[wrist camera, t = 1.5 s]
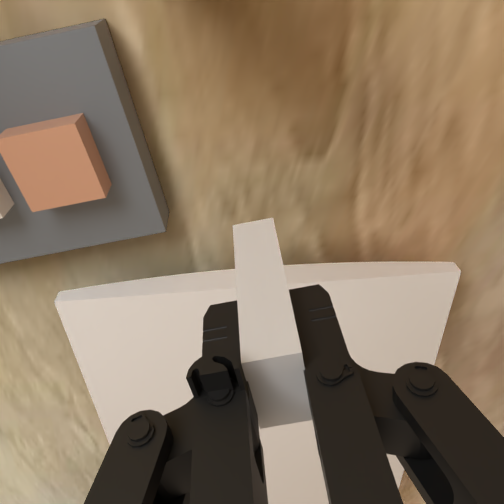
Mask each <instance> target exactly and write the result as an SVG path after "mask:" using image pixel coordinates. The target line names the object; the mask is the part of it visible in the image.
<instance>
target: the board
mask: <svg viewBox="0 0 504 504" xmlns="http://www.w3.org/2000/svg"><path fill="white" fill-rule="evenodd" d="M283 266H284V271H285V275H286V280H287V285H288V289H289V290H290V289H295V288H301V287H306V286H311V285H317V284H319V285H320V286H322V287H323V288H324V289H325V290H326V291H327V292H328V293H329V295H330V298H331V301H332V304H333V308H334V310H335V313H336V317H337V319H338V322H339V325H340V328H341V331H342V334H343V337H344V340H345V343H346V346H347V349H348V352H349V354H350V356H351V358H352V359H353V360H354V361H355V362H356V363H357V364H358V365H360V366H361V367H363V368H365V369H368V370H370V371H375V372H382V373H392V374H395V372H396V370H397V369H398V368H400V367H401V366H403V365H404V364H407V363H412V362H424V363H429V364H431V365H434V364H435V361H436V357H437V354H438V350H439V347H440V343H441V340H442V336H443V333H444V329H445V326H446V322H447V319H448V316H449V312H450V309H451V305H452V302H453V298H454V295H455V291H456V288H457V284H458V281H459V277H460V274H461V270H460V269H459V268H458V266H457V265H456V264H455V262H343V263H316V264H296V265H283ZM236 300H237V288H236V272H235V269H227V270H216V271H206V272H196V273H187V274H178V275H169V276H161V277H153V278H145V279H138V280H131V281H123V282H116V283H110V284H103V285H96V286H90V287H84V288H77V289H71V290H65V291H59V292H58V295H57V297H56V299H55V301H54V303H55V306H56V308H57V311H58V313H59V316H60V318H61V321H62V323H63V326H64V329H65V331H66V334H67V336H68V339H69V341H70V344H71V347H72V349H73V352H74V354H75V357H76V359H77V362H78V365H79V367H80V370H81V372H82V375H83V377H84V380H85V382H86V385H87V388H88V390H89V393H90V395H91V398H92V400H93V403H94V406H95V408H96V411H97V413H98V416H99V418H100V421H101V423H102V426H103V429H104V431H105V434H106V436H107V439H108V441H109V444H111V442H112V440H113V438H114V435H115V433H116V431H117V430H118V428H119V427H120V425H121V424H122V422H124V421H125V420H126V419H127V418H128V417H129V416H130V415H133V414H135V413H137V412H139V411H143V410H154V411H158V412H160V413H161V414H162V415H165V414H167V413H169V412H172V411H174V410H176V409H178V408H180V407H181V406H183V405H185V404H186V403H187V402H189V401H190V400H191V399H192V398H193V397H194V396H193V394H192V392H191V389H190V387H189V384H188V382H187V379H186V376H187V373H188V369H189V368H190V367H191V365H192V364H193V363H194V362H195V361H196V360H198V359H199V358H201V357H202V343H203V317H204V315H205V313H206V312H207V310H208V308H209V306H210V305H214V304H219V303H225V302H230V301H236ZM259 436H260V440H261V444H262V447H263V455H264V465H265V476H266V486H267V496H268V504H329V501H328V496H327V491H326V486H325V481H324V477H323V472H322V467H321V462H320V457H319V454H318V448H317V442H316V437H315V431H314V425H313V420H309V421H303V422H298V423H292V424H286V425H280V426H274V427H268V428H262V429H260V427H259ZM387 457H388V460H389V463H390V466H391V469H392V472H393V475H394V478H395V481H396V484H397V487H398V489H399V486H400V482H401V479H402V475H403V472H404V468H403V466H402V465H401V463H400V462H399V460H398V459H397V457H396V455H390V454H387Z"/></svg>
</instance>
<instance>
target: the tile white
mask: <svg viewBox="0 0 504 504" xmlns="http://www.w3.org/2000/svg"><path fill="white" fill-rule="evenodd" d="M13 205H14V202H13V200H12V198H11V197H10V195H9V193H8V191H7V189H6V188H5V186H4V184H3V182H2V181H1V179H0V219H1V218H3V217H4V216H5V215H6V214H7V212H8V211H9V210H10V209H11V207H12V206H13Z"/></svg>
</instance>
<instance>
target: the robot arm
mask: <svg viewBox="0 0 504 504" xmlns="http://www.w3.org/2000/svg"><path fill="white" fill-rule="evenodd" d="M233 239H234V255H235V272H236V288H237V300H236V301H230V302H225V303H219V304H214V305H210V306H209V308H208V310H207V312H206V313H205V315H204V317H203V343H202V357H201V358H199V359H198V360H196V361H195V362H194V363H193V364H192V365H191V367H190V368H189V369H188V373H187V376H186V379H187V382H188V384H189V387H190V389H191V392H192V394H193V396H194V397H193V398H192V399H191V400H190V401H189V402H187V403H186V404H185V405H183V406H181V407H180V408H178V409H176V410H174V411H172V412H169V413H167V414H165V415H162V414H161V413H160V412H158V411H154V410H143V411H139V412H137V413H135V414H133V415H130V416H129V417H128V418H127V419H126V420H125V421H124V422H122V424H121V425H120V427H119V428H118V430H117V431H116V433H115V435H114V438H113V440H112V442H111V444H110V447H109V449H108V451H107V453H106V455H105V458H104V460H103V462H102V464H101V467H100V469H99V471H98V473H97V475H96V478H95V480H94V482H93V484H92V487H91V489H90V491H89V493H88V495H87V498H86V500H85V502H84V504H268V496H267V486H266V476H265V465H264V455H263V447H262V444H261V440H260V436H259V427H260V429H262V428H268V427H274V426H280V425H286V424H292V423H298V422H303V421H309V420H313V425H314V431H315V437H316V442H317V448H318V454H319V457H320V462H321V467H322V472H323V477H324V481H325V486H326V491H327V496H328V501H329V504H403V502H402V499H401V496H400V493H399V490H398V487H397V484H396V481H395V478H394V475H393V472H392V469H391V466H390V463H389V460H388V457H387V454H390V455H396V457H397V459H398V460H399V462H400V463H401V465H402V466H403V468H404V470H405V471H406V473H407V474H408V476H409V477H410V479H411V480H412V482H413V484H414V485H415V487H416V488H417V490H418V491H419V493H420V494H421V496H422V498H423V499H424V501H425V502H426V504H504V437H503V436H502V435H501V434H500V433H499V432H498V430H497V429H496V428H495V427H494V426H493V425H492V424H491V423H490V422H489V421H488V419H487V418H486V417H485V416H484V415H483V414H482V413H481V412H480V411H479V409H478V408H477V407H476V406H475V405H474V404H473V403H472V402H471V401H470V399H469V398H468V397H467V396H466V395H465V394H464V393H463V392H462V391H461V390H460V388H459V387H458V386H457V385H456V384H455V383H454V382H453V381H452V380H451V378H450V377H449V376H448V375H447V374H446V373H445V372H443V371H442V370H441V369H440V368H438V367H436V366H434V365H431V364H429V363H424V362H412V363H407V364H404V365H403V366H401V367H400V368H398V369H397V370H396V372H395V374H392V373H382V372H375V371H370V370H368V369H365V368H363V367H361V366H360V365H358V364H357V363H356V362H355V361H354V360H353V359H352V358H351V356H350V354H349V352H348V349H347V346H346V343H345V340H344V337H343V334H342V331H341V328H340V325H339V322H338V319H337V317H336V313H335V310H334V308H333V304H332V301H331V298H330V295H329V293H328V292H327V291H326V290H325V289H324V288H323V287H322V286H320V285H319V284H317V285H311V286H306V287H301V288H295V289H290V290H289V289H288V285H287V280H286V275H285V271H284V266H283V261H282V257H281V252H280V248H279V243H278V238H277V234H276V229H275V224H274V220H273V218H268V219H262V220H257V221H252V222H247V223H242V224H236V225H233Z"/></svg>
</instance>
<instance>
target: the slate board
mask: <svg viewBox="0 0 504 504" xmlns="http://www.w3.org/2000/svg"><path fill="white" fill-rule="evenodd" d="M80 113H83V114H84V117H85V119H86V122H87V124H88V127H89V129H90V131H91V134H92V136H93V139H94V141H95V144H96V146H97V149H98V151H99V154H100V156H101V159H102V161H103V164H104V166H105V169H106V171H107V174H108V176H109V179H110V181H111V184H112V185H111V187H110V189H109V192H108V194H107V196H106V198H102V199H97V200H92V201H87V202H82V203H77V204H72V205H67V206H62V207H57V208H51V209H46V210H41V211H36V212H32V211H31V209H30V207H29V205H28V204H27V202H26V200H25V198H24V196H23V194H22V192H21V191H20V189H19V187H18V185H17V183H16V181H15V179H14V178H13V176H12V174H11V172H10V170H9V168H8V166H7V165H6V163H5V161H4V159H3V157H2V155H1V153H0V179H1V181H2V182H3V184H4V186H5V188H6V189H7V191H8V193H9V195H10V197H11V198H12V200H13V202H14V205H13V206H12V207H11V209H10V210H9V211H8V212H7V214H6V215H5V216H4V217H3V218H1V219H0V264H1V263H6V262H11V261H16V260H22V259H27V258H32V257H37V256H42V255H48V254H53V253H58V252H63V251H68V250H74V249H79V248H84V247H89V246H94V245H100V244H105V243H110V242H115V241H120V240H125V239H131V238H136V237H141V236H146V235H151V234H157V233H162V232H166V228H167V223H168V217H169V209H168V206H167V203H166V200H165V197H164V194H163V191H162V188H161V185H160V182H159V179H158V176H157V173H156V170H155V167H154V164H153V161H152V158H151V155H150V152H149V149H148V146H147V143H146V140H145V137H144V134H143V131H142V128H141V125H140V122H139V119H138V116H137V113H136V110H135V107H134V104H133V101H132V98H131V95H130V92H129V89H128V86H127V83H126V80H125V77H124V74H123V71H122V68H121V65H120V62H119V59H118V56H117V53H116V50H115V47H114V44H113V41H112V38H111V35H110V32H109V29H108V26H107V23H106V20H105V19H101V20H97V21H92V22H87V23H83V24H78V25H74V26H69V27H64V28H60V29H55V30H50V31H46V32H41V33H37V34H32V35H27V36H23V37H18V38H13V39H9V40H4V41H0V134H1V133H2V132H3V131H4V130H6V129H8V128H13V127H17V126H22V125H27V124H32V123H37V122H42V121H46V120H51V119H56V118H61V117H66V116H71V115H75V114H80Z"/></svg>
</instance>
